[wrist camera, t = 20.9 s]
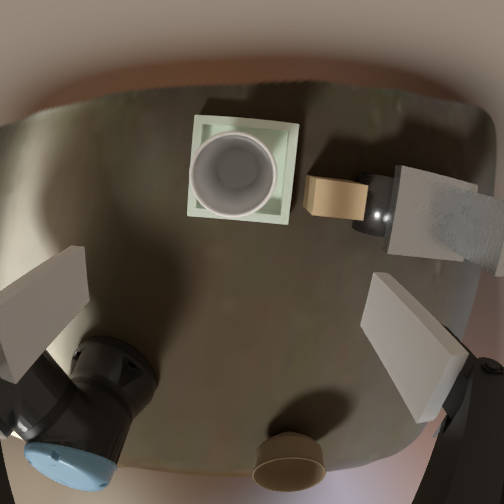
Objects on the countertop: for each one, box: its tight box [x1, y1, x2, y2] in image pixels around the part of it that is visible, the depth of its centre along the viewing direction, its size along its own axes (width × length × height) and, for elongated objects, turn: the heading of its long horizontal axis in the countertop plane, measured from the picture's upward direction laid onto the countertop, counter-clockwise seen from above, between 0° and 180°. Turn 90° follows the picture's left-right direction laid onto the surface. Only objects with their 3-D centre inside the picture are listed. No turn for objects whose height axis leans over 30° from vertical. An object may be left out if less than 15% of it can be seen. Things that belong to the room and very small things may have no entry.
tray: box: [187, 115, 299, 225], centre depth 36 cm, size 12×12×2 cm
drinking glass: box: [189, 131, 277, 218], centre depth 30 cm, size 7×7×15 cm
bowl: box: [252, 432, 326, 492], centre depth 47 cm, size 13×13×10 cm
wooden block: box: [303, 175, 368, 221], centre depth 36 cm, size 6×4×6 cm, turn 85°
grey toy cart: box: [352, 165, 504, 277], centre depth 32 cm, size 17×10×16 cm, turn 85°
